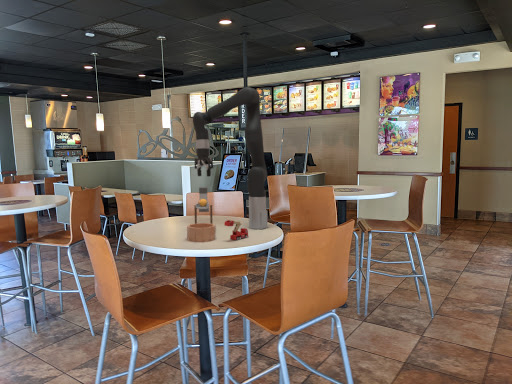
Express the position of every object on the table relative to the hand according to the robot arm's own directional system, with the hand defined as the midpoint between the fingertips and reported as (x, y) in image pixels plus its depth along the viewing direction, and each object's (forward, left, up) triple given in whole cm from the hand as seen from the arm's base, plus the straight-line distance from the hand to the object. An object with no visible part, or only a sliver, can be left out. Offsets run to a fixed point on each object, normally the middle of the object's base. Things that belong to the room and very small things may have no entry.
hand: (204, 176), depth 220 cm
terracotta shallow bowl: (-24, +33, -28) cm, 49 cm away
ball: (-16, +22, -12) cm, 29 cm away
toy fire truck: (-39, +24, -28) cm, 54 cm away
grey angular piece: (-16, +21, -17) cm, 31 cm away
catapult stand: (-15, +19, -28) cm, 37 cm away
